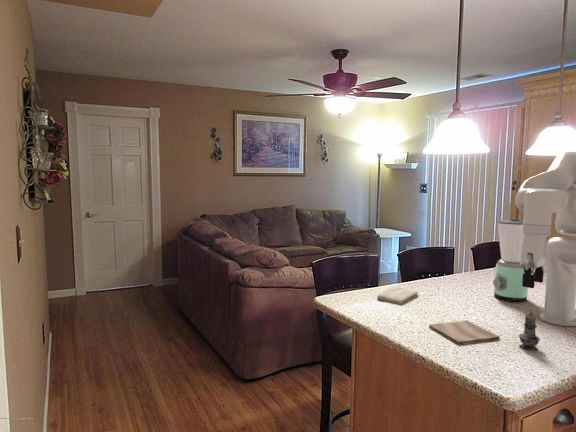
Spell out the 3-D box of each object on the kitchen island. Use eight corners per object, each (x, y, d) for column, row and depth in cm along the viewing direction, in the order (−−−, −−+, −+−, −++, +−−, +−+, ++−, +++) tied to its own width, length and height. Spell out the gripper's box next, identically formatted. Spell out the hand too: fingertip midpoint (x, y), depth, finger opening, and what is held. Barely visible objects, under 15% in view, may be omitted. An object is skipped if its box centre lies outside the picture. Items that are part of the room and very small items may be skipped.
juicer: (508, 304, 179) (513, 222, 175) (483, 296, 192) (487, 218, 188) (541, 300, 186) (547, 220, 182) (515, 292, 198) (520, 217, 194)
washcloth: (419, 296, 192) (419, 289, 192) (402, 306, 178) (402, 299, 178) (394, 291, 199) (394, 285, 199) (376, 300, 185) (376, 294, 185)
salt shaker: (520, 342, 140) (522, 307, 138) (540, 347, 136) (543, 311, 135) (516, 348, 135) (518, 311, 134) (537, 353, 131) (540, 315, 130)
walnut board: (466, 323, 157) (467, 320, 157) (499, 339, 142) (499, 336, 142) (429, 327, 153) (429, 324, 153) (458, 344, 138) (458, 341, 138)
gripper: (531, 226, 140) (527, 277, 142) (514, 231, 128) (510, 287, 130) (557, 228, 135) (553, 281, 137) (542, 233, 123) (538, 292, 124)
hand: (532, 284), depth 133 cm, fingers open, 9 cm apart
